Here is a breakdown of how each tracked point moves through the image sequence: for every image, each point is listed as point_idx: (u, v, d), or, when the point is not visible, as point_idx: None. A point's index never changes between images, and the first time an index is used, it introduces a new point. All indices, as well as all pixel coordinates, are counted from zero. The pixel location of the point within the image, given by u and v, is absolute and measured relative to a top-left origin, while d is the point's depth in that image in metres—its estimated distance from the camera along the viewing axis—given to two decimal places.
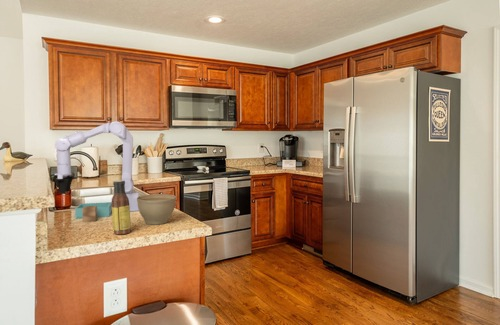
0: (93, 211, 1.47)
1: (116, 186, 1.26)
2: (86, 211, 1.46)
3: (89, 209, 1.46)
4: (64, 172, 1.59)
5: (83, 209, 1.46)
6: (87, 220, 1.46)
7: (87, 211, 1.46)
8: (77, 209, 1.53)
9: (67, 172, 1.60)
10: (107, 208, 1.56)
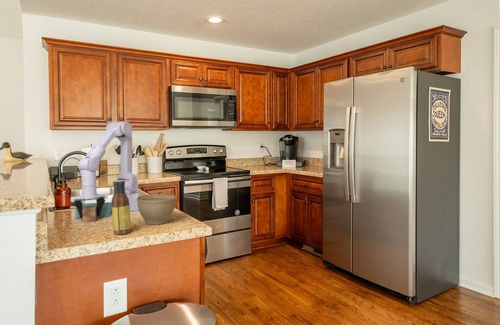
0: (93, 211, 1.47)
1: (116, 186, 1.26)
2: (86, 211, 1.46)
3: (89, 209, 1.46)
4: (83, 195, 1.46)
5: (83, 209, 1.46)
6: (87, 220, 1.46)
7: (87, 211, 1.46)
8: None
9: (85, 195, 1.45)
10: (107, 208, 1.56)
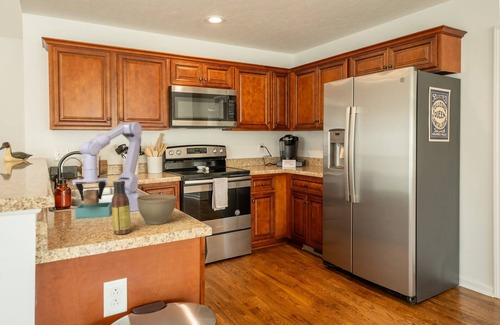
0: (93, 194, 1.50)
1: (116, 186, 1.26)
2: (87, 194, 1.50)
3: (90, 192, 1.50)
4: (84, 178, 1.50)
5: (84, 192, 1.50)
6: (88, 203, 1.50)
7: (88, 194, 1.50)
8: (77, 209, 1.53)
9: (86, 178, 1.49)
10: (107, 208, 1.56)
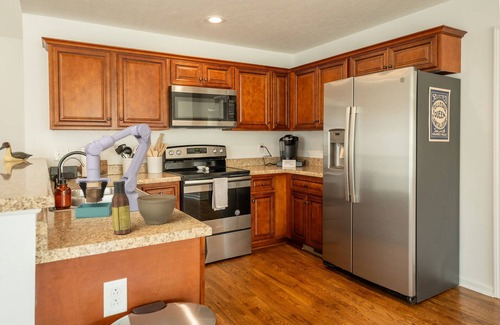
0: (94, 193, 1.57)
1: (116, 186, 1.26)
2: (89, 192, 1.57)
3: (91, 190, 1.57)
4: None
5: (86, 190, 1.57)
6: (89, 201, 1.58)
7: (89, 192, 1.57)
8: (77, 209, 1.53)
9: (87, 177, 1.57)
10: (107, 208, 1.56)
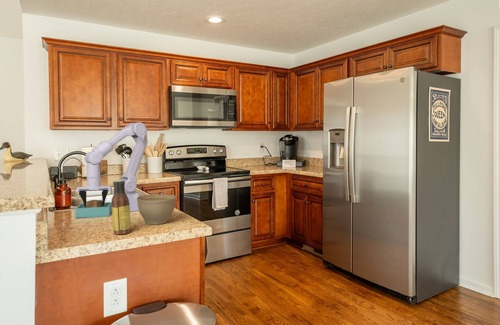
0: (95, 205, 1.57)
1: (116, 186, 1.26)
2: (89, 204, 1.58)
3: (91, 203, 1.58)
4: (87, 185, 1.58)
5: (86, 202, 1.58)
6: None
7: (90, 204, 1.58)
8: (77, 209, 1.53)
9: (88, 186, 1.57)
10: (107, 208, 1.56)
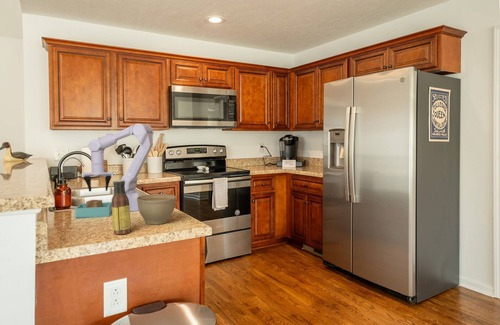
0: (95, 205, 1.57)
1: (116, 186, 1.26)
2: (89, 204, 1.58)
3: (91, 203, 1.58)
4: None
5: (86, 202, 1.58)
6: None
7: (90, 204, 1.58)
8: (77, 209, 1.53)
9: (92, 172, 1.69)
10: (107, 208, 1.56)
